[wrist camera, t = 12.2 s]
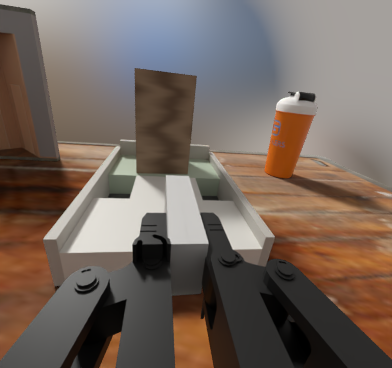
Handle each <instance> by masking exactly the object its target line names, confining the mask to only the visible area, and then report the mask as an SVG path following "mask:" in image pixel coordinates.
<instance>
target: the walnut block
mask: <svg viewBox="0 0 392 368" xmlns="http://www.w3.org/2000/svg"><path fill="white" fill-rule="evenodd" d="M196 78H197V76H192V75H185V74H176V73H168V72H161V71H153V70H146V69H138V68H135V115H136V116H135V118H136V173H151V174H188V165H189V154H190V143H191V132H192V121H193V111H194V99H195V88H196Z"/></svg>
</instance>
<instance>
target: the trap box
mask: <svg viewBox="0 0 392 368" xmlns="http://www.w3.org/2000/svg"><path fill="white" fill-rule="evenodd" d="M209 149H210V146H208V145H207V146H206V145H193V144H190V154H189V165H188V174H151V173H136V141H133V140H120V147H119V146H116V147H115V149H114V150H113V151H112V152H111V154H110V155H109V156H108V157H107V159H106V160H105V161H104V163H103V164H102V165H101V166H100V168H99V169H98V170H97V171H96V173H95V174H94V175H93V177H92V178H91V179H90V180H89V182H88V183H87V184H86V185H85V187H84V188H83V189H82V190H81V192H80V193H79V194H78V196H77V197H76V198H75V199H74V201H73V202H72V203H71V204H70V206H69V207H68V208H67V210H66V211H65V212H64V213H63V215H62V216H61V217H60V218H59V220H58V221H57V222H56V223H55V225H54V226H53V227H52V229H51V230H50V231H49V232H48V234H47V235H46V236H45V237H44V239H43V242H44V246H45V250H46V254H47V258H48V262H49V266H50V270H51V274H52V278H53V282H54V286H61V285H62V284H63V283H64V281H65V280H66V279H67V278H68V277H69V276H70V275H71V274H72V273H74V272H75V271H77V270H79V269H81V268H84V267H88V266H99V267H102V268H104V269H105V270H106V271H107V272H112V271H115V270H119V269H121V268H124V267H125V266H127V265H129V264H130V263H131V262H132V261H133V251H132V244H133V242H134V240H135V239H136V238H137V237H139V234H140V228H141V222H142V218H143V217H144V216H145V214H146V213H164V208H165V186H166V175H174V176H189V178H190V181H191V185H192V188H193V192H194V195H195V198H196V202H197V205H198V209H199V212H207V213H214V214H215V215H216V216H218V217H219V219H220V221H221V223H222V226H223V228H224V231H225V233H226V235H227V237H228V240H229V242H230V244H231V247H232V249H233V250H235V251H236V252H238V253H239V254H240V255H241V256H242V257H243V259H244V261H246V262H248V263H251V264H255V265H259V266H264V267H266V264H267V261H268V258H269V255H270V251H271V248H272V245H273V242H274V239H275V236H274V235H273V234H272V232H271V231H270V230H269V228H268V227H267V226H266V224H265V223H264V222H263V220H262V219H261V217H260V216H259V215H258V213H257V212H256V211H255V209H254V208H253V207H252V205H251V204H250V203H249V201H248V200H247V198H246V197H245V196H244V194H243V193H242V192H241V190H240V189H239V188H238V186H237V185H236V184H235V182H234V181H233V180H232V178H231V177H230V175H229V174H228V173H227V171H226V170H225V169H224V167H223V166H222V165H221V163H220V162H219V161H218V159H217V158H216V157H215V155H214V154H213V152H209Z"/></svg>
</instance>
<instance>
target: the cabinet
mask: <svg viewBox="0 0 392 368" xmlns="http://www.w3.org/2000/svg"><path fill="white" fill-rule="evenodd" d="M0 159H19V160H40V161H58V160H60V154H59V149H58V143H57V138H56V131H55V126H54V120H53V114H52V108H51V102H50V96H49V91H48V85H47V79H46V74H45V68H44V63H43V56H42V50H41V45H40V39H39V33H38V27H37V21H36V15H35V12H34V11H32V10H30V9H26V8H20V7H13V6H6V5H0Z"/></svg>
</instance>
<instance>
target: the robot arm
mask: <svg viewBox="0 0 392 368" xmlns="http://www.w3.org/2000/svg"><path fill="white" fill-rule="evenodd" d="M132 251H133V261H132V262H131V263H130V264H129V265H127V266H125V267H124V268H121V269H119V270H115V271H112V272H107V271H106V270H105V269H104V268H102V267H99V266H88V267H84V268H81V269H79V270H77V271H75V272H74V273H72V274H71V275H70V276H69V277H68V278H67V279H66V280H65V281H64V283H63V284H62V285H61V286H60V288H59V289H58V290H57V291H56V293H55V294H54V295H53V296H52V298H51V299H50V300H49V301H48V302H47V304H46V305H45V306H44V307H43V309H42V310H41V311H40V312H39V314H38V315H37V316H36V317H35V319H34V320H33V321H32V322H31V324H30V325H29V326H28V327H27V329H26V330H25V331H24V332H23V333H22V335H21V336H20V337H19V338H18V340H17V341H16V342H15V343H14V345H13V346H12V347H11V348H10V350H9V351H8V352H7V353H6V355H5V356H4V357H3V358H2V359H1V361H0V368H99V367H100V364H101V362H102V360H103V357H104V355H105V353H106V350H107V348H108V346H109V343H110V341H111V339H112V336H113V335H114V334H116V333H119V332H121V331H122V332H121V338H120V344H119V350H118V356H117V362H116V368H175V355H174V333H173V312H172V296H173V295H190V294H201V289H202V287H203V293H204V299H203V304H202V310H201V319H203V318H204V315H205V321H206V326H207V332H208V337H209V343H210V348H211V354H212V360H213V365H214V368H392V359H391V358H389V357H388V356H387V355H386V354H385V353H384V352H383V351H382V350H381V349H380V348H379V347H378V346H377V345H376V344H375V343H374V342H373V341H372V340H371V339H370V338H369V337H368V336H367V335H366V334H365V333H364V332H363V331H362V330H361V329H360V328H359V327H358V326H356V325H355V324H354V323H353V322H352V321H351V320H350V319H349V318H348V317H347V316H346V315H345V314H344V313H343V312H342V311H341V310H340V309H339V308H338V307H337V306H336V305H335V304H334V303H333V302H332V301H331V300H330V299H329V298H328V297H327V296H326V295H324V294H323V293H322V292H321V291H320V290H319V289H318V288H317V287H316V286H315V285H314V284H313V283H312V282H311V281H310V280H309V279H308V278H307V277H306V276H305V275H304V274H303V273H302V272H301V271H300V270H299V269H298V268H296V267H295V266H294V265H293V264H291V263H289V262H287V261H285V260H281V259H272V260H270V261H268V262H267V264H266V267H264V266H259V265H255V264H251V263H248V262H246V261H244V259H243V257H242V256H241V255H240V254H239V253H238V252H236V251H235V250H233V249H232V247H231V244H230V242H229V240H228V237H227V235H226V233H225V231H224V228H223V226H222V223H221V221H220V219H219V217H218V216H216V215H215V214H214V213H207V212H199V209H198V205H197V202H196V198H195V195H194V192H193V188H192V185H191V181H190V178H189V176H174V175H166V186H165V208H164V213H146V214H145V216H144V217H143V218H142V222H141V228H140V234H139V237H137V238H136V239H135V240H134V242H133V244H132Z"/></svg>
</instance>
